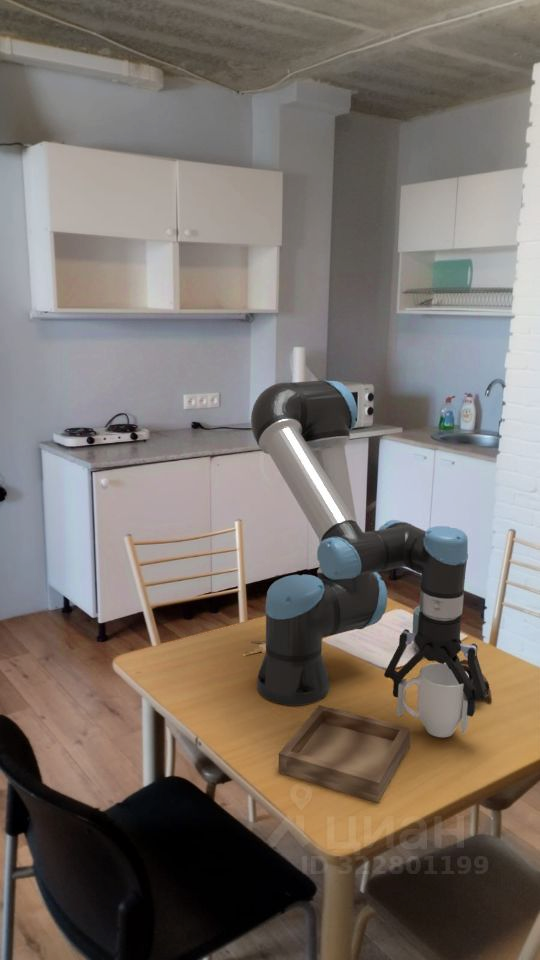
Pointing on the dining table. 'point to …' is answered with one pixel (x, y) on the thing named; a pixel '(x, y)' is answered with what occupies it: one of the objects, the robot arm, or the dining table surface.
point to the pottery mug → (466, 668)
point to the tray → (345, 752)
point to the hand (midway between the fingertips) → (431, 721)
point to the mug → (437, 699)
